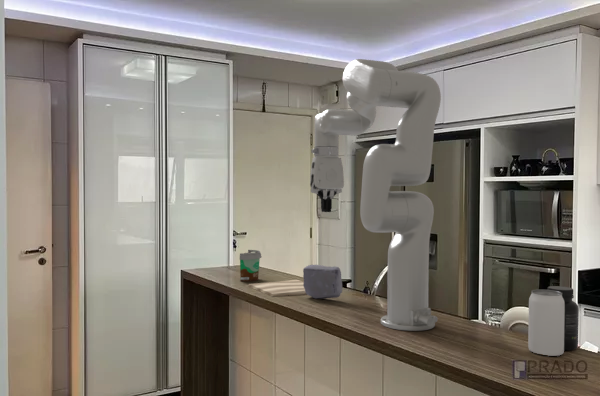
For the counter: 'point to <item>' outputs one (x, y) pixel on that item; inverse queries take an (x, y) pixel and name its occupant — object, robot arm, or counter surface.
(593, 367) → the counter surface
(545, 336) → the can
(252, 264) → the food container
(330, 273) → the stone block
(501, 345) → the counter surface
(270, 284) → the striped cloth
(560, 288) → the supplement bottle
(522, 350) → the counter surface
